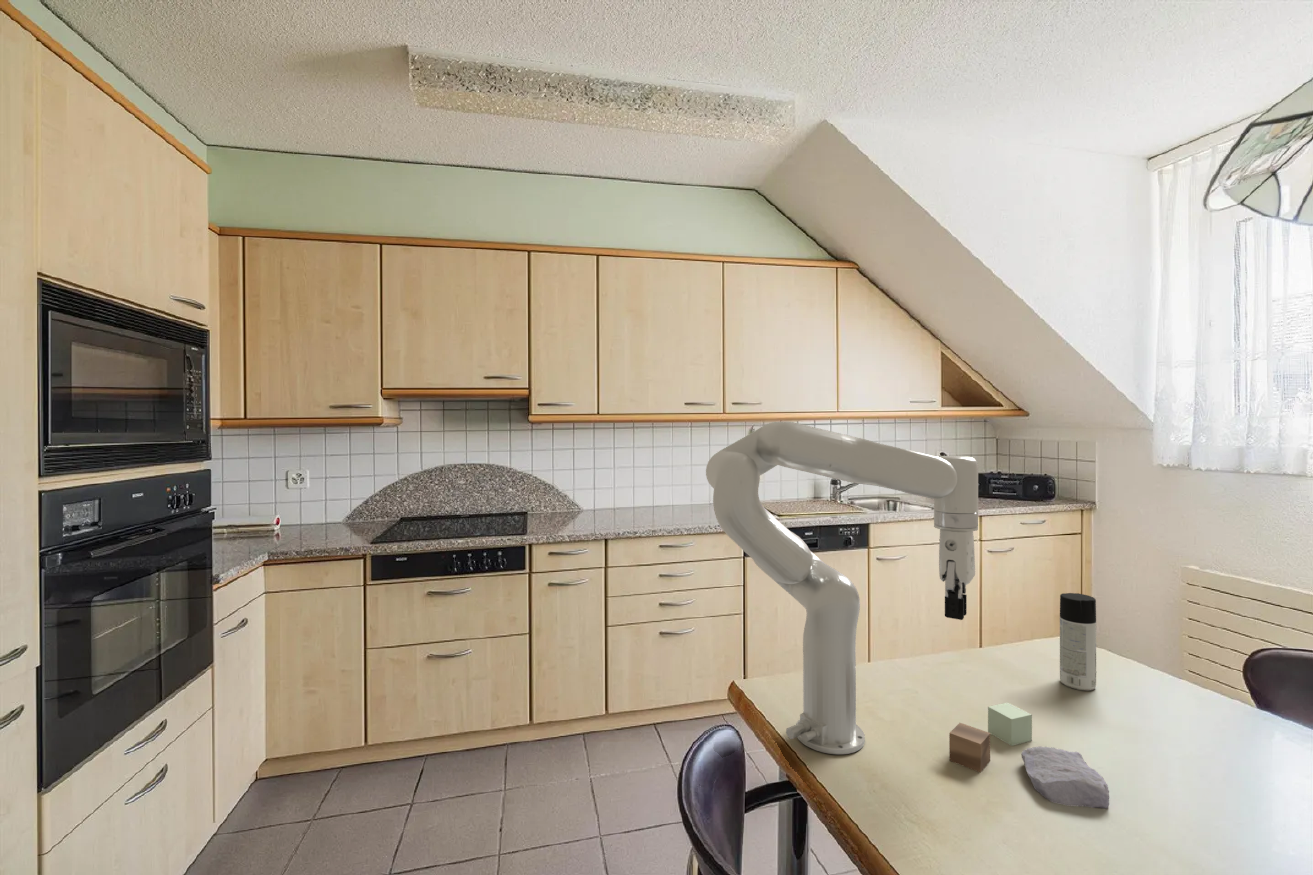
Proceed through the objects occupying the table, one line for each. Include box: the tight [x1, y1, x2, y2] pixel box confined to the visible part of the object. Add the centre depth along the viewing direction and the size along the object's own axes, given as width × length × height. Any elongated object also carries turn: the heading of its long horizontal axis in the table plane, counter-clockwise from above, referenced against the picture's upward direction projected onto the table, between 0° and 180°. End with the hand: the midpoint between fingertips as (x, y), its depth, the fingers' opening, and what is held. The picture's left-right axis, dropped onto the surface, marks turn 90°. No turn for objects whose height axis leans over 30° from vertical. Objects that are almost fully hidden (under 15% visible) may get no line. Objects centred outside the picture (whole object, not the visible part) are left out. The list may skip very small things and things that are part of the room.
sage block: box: [987, 702, 1033, 747], centre depth 109 cm, size 5×5×5 cm
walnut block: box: [948, 722, 991, 773], centre depth 101 cm, size 5×5×5 cm
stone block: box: [1020, 746, 1110, 809], centre depth 95 cm, size 12×5×10 cm
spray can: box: [1059, 592, 1097, 692], centre depth 130 cm, size 7×7×20 cm
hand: (955, 615), depth 111 cm, fingers closed
